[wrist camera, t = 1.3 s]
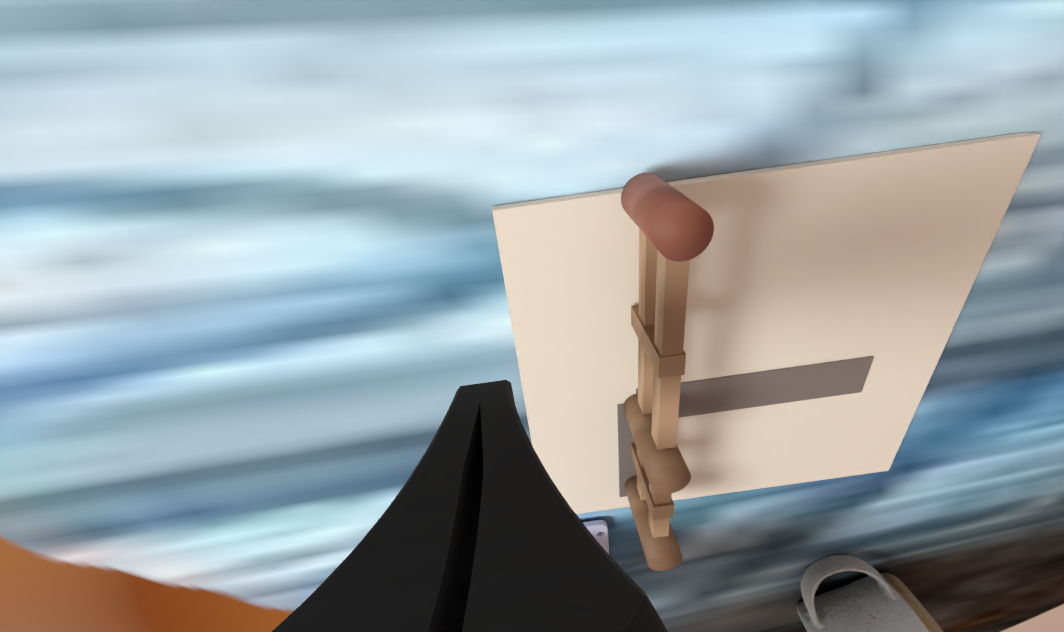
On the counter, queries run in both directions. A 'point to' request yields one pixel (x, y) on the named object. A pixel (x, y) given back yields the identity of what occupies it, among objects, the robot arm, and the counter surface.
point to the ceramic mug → (860, 601)
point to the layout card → (757, 314)
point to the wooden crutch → (663, 292)
